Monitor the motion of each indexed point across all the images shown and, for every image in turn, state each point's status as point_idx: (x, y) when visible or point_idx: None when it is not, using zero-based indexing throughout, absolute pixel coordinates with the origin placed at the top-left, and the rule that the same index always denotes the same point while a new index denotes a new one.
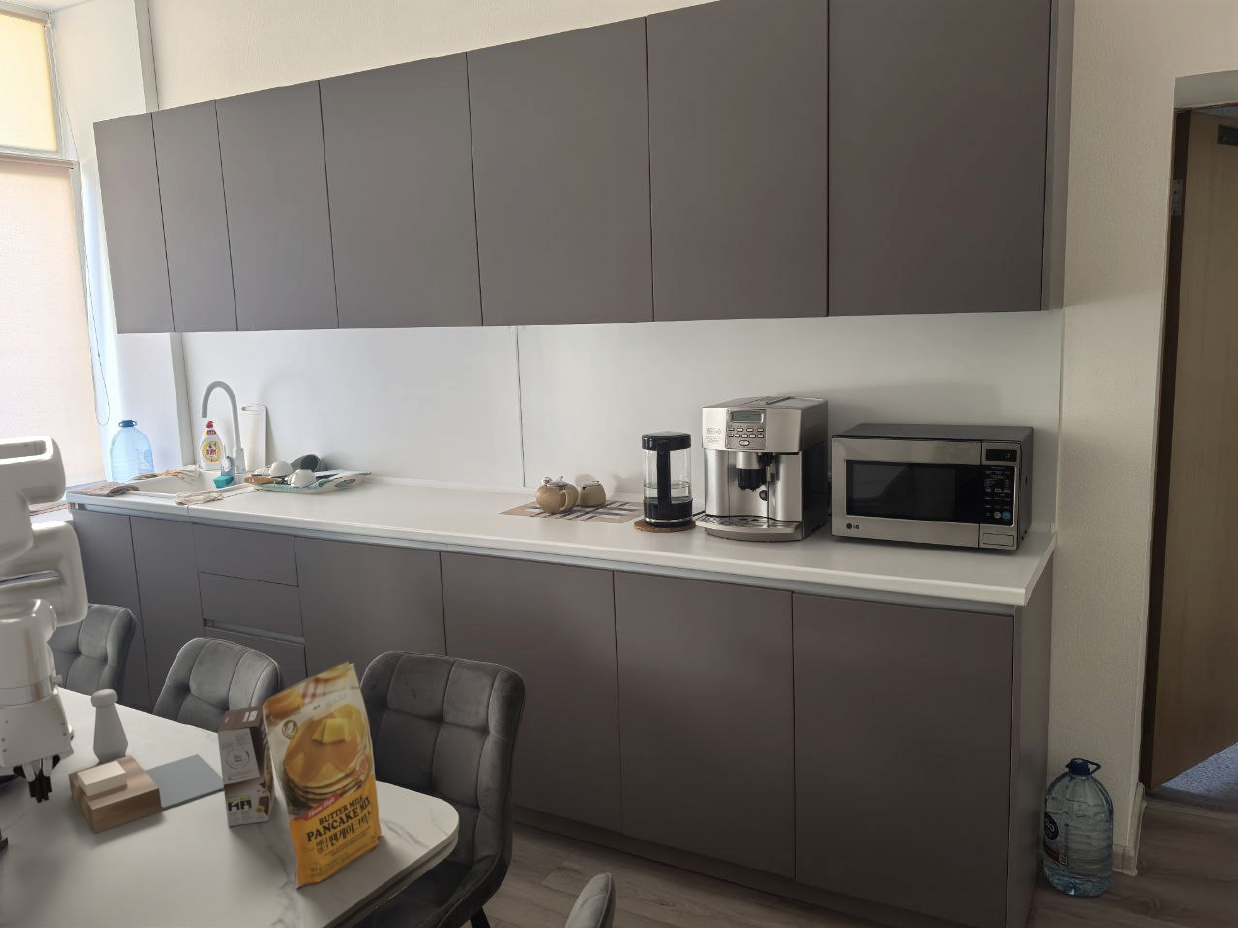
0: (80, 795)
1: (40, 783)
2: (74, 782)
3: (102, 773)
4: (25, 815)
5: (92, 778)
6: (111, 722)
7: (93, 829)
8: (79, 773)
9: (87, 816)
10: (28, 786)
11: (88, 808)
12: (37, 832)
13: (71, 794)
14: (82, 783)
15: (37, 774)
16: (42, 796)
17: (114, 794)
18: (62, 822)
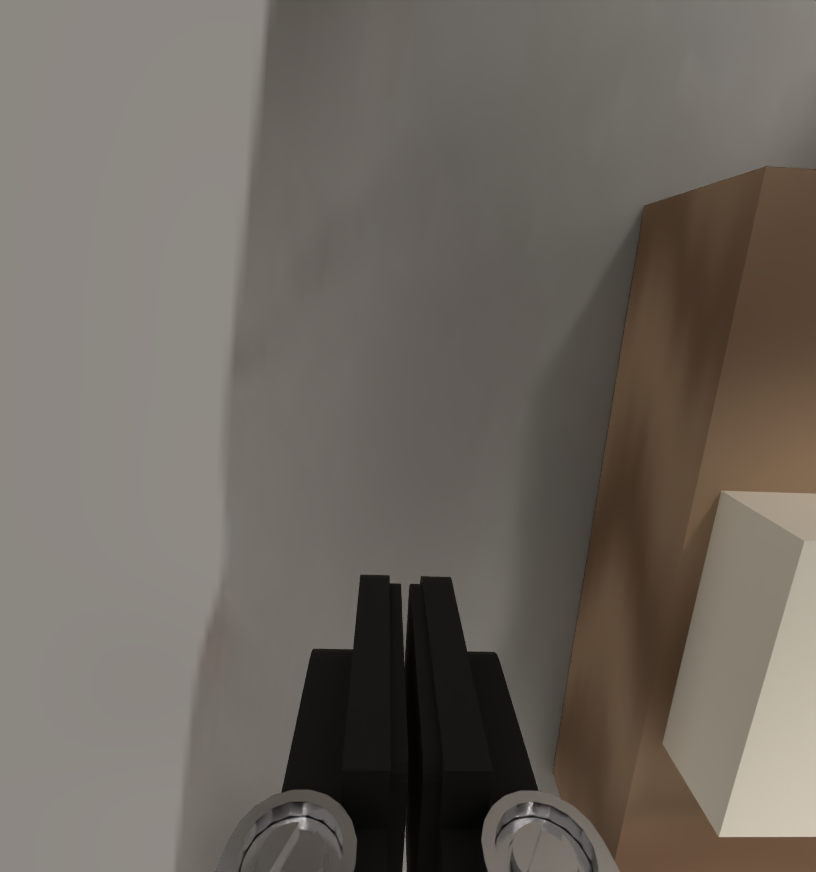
0: (646, 608)
1: (409, 808)
2: (709, 434)
3: None
4: (330, 278)
5: (813, 763)
6: None
7: (558, 742)
8: (804, 575)
9: (584, 666)
10: (298, 724)
11: (604, 789)
12: (342, 571)
13: (648, 207)
14: (724, 686)
15: (422, 755)
16: (405, 683)
17: None
18: (475, 554)
